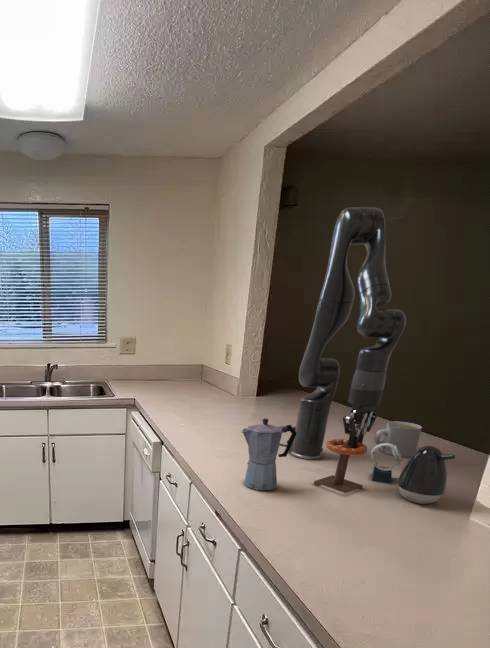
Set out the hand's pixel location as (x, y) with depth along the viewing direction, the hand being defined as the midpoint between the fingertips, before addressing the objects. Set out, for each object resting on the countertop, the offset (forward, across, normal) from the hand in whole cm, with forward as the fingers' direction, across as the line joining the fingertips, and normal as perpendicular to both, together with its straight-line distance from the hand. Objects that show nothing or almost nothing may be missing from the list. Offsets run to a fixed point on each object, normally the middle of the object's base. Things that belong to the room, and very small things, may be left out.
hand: (354, 447), depth 123 cm
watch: (+12, -13, +3) cm, 18 cm away
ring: (-1, +4, 0) cm, 4 cm away
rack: (+11, +4, 0) cm, 12 cm away
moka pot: (+12, +22, -12) cm, 28 cm away
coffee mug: (+11, -43, -9) cm, 45 cm away
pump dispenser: (+12, -6, +16) cm, 21 cm away
